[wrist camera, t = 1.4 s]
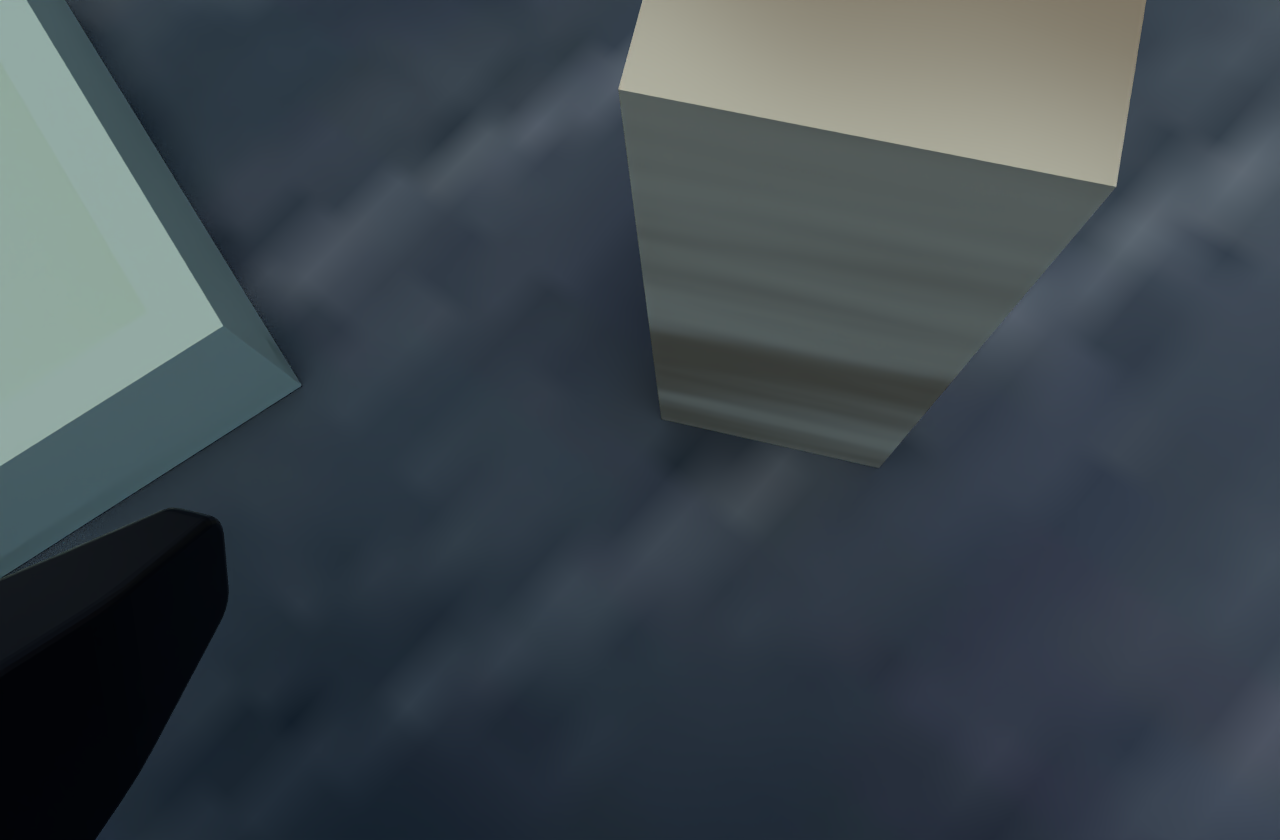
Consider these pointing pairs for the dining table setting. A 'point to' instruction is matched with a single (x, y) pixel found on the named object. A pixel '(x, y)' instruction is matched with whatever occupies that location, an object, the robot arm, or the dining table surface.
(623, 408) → the dining table surface
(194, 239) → the box
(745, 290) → the birch post
